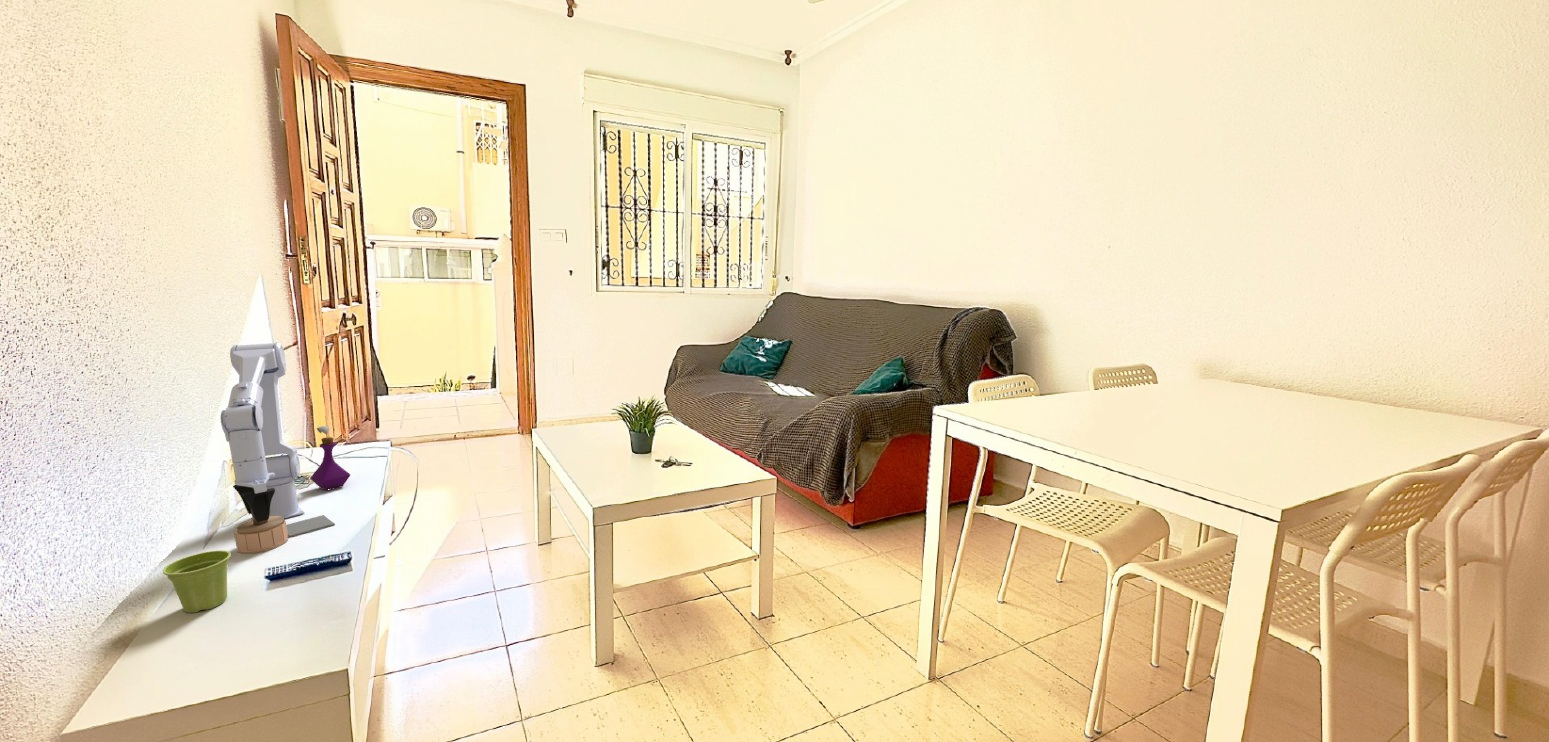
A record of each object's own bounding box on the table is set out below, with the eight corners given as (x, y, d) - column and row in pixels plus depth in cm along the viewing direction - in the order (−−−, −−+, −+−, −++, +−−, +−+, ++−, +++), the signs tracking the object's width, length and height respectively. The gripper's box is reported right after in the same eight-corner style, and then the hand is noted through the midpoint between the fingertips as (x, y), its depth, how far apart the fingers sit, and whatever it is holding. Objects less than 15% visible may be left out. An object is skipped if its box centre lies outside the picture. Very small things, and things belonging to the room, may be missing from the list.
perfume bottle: (352, 485, 185) (343, 425, 182) (323, 493, 179) (314, 431, 176) (340, 481, 189) (331, 422, 186) (311, 489, 183) (301, 428, 180)
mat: (280, 527, 155) (279, 526, 155) (323, 516, 162) (323, 514, 162) (289, 537, 149) (289, 535, 149) (334, 525, 156) (334, 523, 156)
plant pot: (198, 620, 114) (190, 575, 112) (157, 616, 116) (148, 571, 114) (251, 594, 123) (243, 551, 121) (212, 590, 125) (204, 548, 123)
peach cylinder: (233, 546, 145) (230, 528, 144) (282, 533, 152) (279, 515, 151) (242, 557, 139) (239, 538, 139) (292, 543, 146) (289, 524, 145)
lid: (233, 528, 144) (229, 507, 144) (278, 516, 151) (275, 496, 150) (242, 537, 139) (239, 516, 138) (289, 524, 146) (286, 504, 145)
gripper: (279, 459, 141) (288, 518, 143) (263, 449, 150) (272, 504, 152) (238, 468, 135) (248, 528, 137) (224, 456, 145) (234, 513, 147)
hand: (258, 516), depth 144 cm, fingers open, 7 cm apart
